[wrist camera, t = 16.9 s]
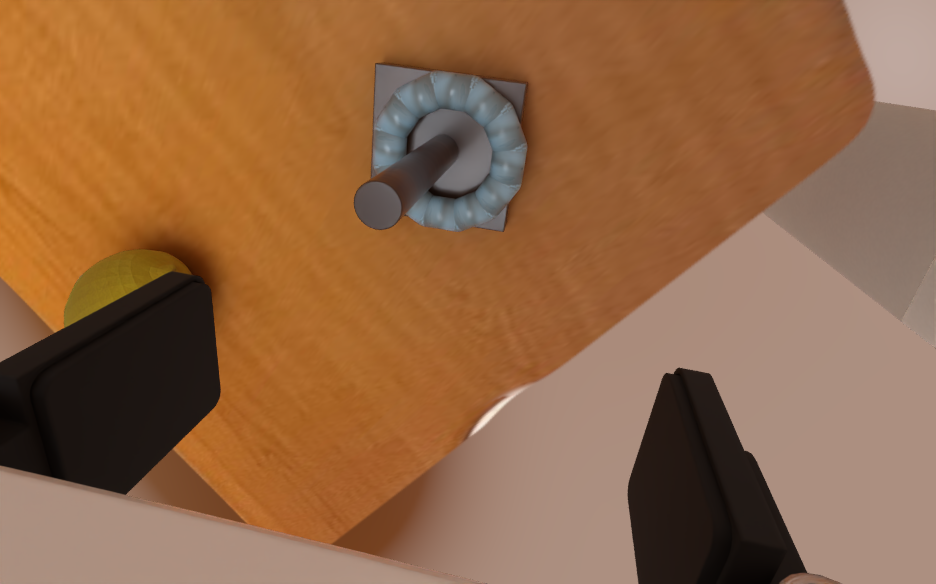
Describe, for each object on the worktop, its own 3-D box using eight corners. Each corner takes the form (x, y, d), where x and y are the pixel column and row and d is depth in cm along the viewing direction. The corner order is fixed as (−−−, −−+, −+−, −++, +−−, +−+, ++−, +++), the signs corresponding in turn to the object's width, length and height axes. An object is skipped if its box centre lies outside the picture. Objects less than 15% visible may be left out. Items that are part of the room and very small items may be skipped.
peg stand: (528, 82, 32) (506, 102, 19) (506, 225, 36) (475, 324, 23) (382, 62, 33) (265, 68, 20) (376, 204, 37) (274, 288, 23)
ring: (538, 83, 30) (537, 84, 29) (513, 235, 34) (511, 245, 33) (382, 61, 31) (371, 62, 29) (375, 212, 35) (366, 221, 33)
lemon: (178, 212, 39) (92, 248, 32) (248, 296, 41) (182, 348, 34) (92, 280, 43) (-2, 326, 36) (160, 354, 45) (84, 412, 38)
